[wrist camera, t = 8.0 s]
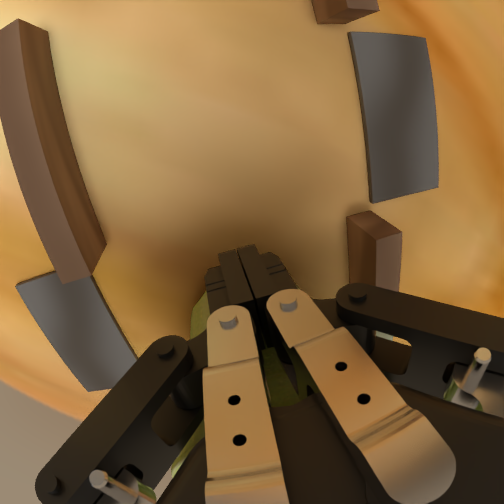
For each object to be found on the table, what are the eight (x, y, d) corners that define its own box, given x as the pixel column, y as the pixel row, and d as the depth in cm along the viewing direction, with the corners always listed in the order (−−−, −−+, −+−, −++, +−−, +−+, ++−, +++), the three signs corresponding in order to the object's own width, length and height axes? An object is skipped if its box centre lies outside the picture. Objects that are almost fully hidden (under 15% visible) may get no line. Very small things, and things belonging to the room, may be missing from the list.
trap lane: (408, -15, 10) (456, -29, 7) (416, 342, 22) (441, 374, 19) (-46, 94, 8) (-94, 101, 4) (124, 428, 20) (122, 469, 17)
